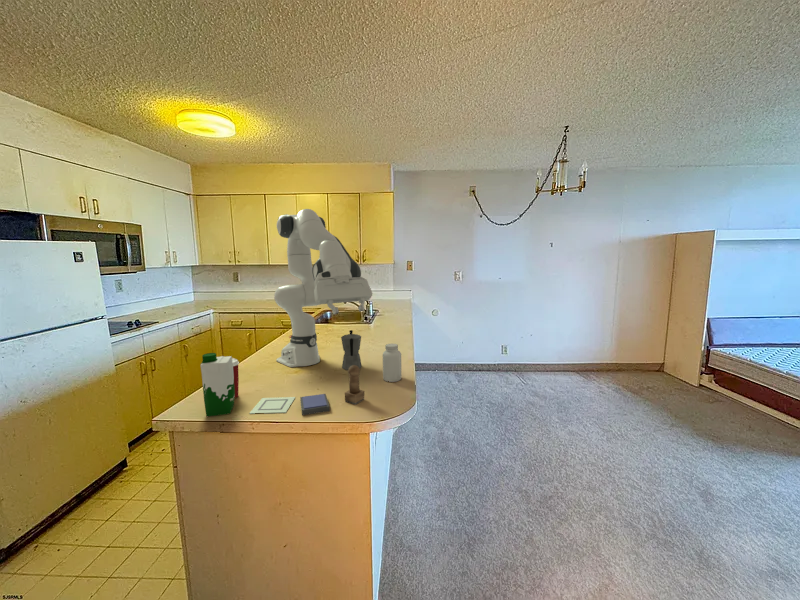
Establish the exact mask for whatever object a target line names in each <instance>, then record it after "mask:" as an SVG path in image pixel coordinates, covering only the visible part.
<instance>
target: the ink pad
mask: <svg viewBox="0 0 800 600" xmlns="http://www.w3.org/2000/svg"><path fill="white" fill-rule="evenodd" d="M299 398H300V399H299V400H300V411H301V416H306V415H312V414H313V415H314V414H319V413H327V412H330V411H331V410H330V409H331V408H330V403H329V400H328V397H327V393H320V394H311V395H305V396H300V397H299Z"/></svg>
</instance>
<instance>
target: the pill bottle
mask: <svg viewBox="0 0 800 600" xmlns="http://www.w3.org/2000/svg"><path fill="white" fill-rule="evenodd" d="M382 378H383V380H384V382H388V381H389V382H388V383H393V382H394V383H396V382H399V381H401V379H402V352H401V351H400V350H399V344H397V343H387V344H386V345H385V350H384V351H383V353H382Z"/></svg>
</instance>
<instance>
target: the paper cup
mask: <svg viewBox="0 0 800 600" xmlns="http://www.w3.org/2000/svg"><path fill="white" fill-rule="evenodd" d="M232 363H233V373H234V387H235V399H237V398H238V397H239V380H240V379H239V378H240V377H239V364H240V361H239V360H238V359H237V358H234V357H232ZM236 397H237V398H236Z"/></svg>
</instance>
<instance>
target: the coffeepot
mask: <svg viewBox="0 0 800 600" xmlns="http://www.w3.org/2000/svg"><path fill="white" fill-rule="evenodd" d="M348 332H349V334H347V333H346V334H343V335H342V336H341V337H340V340H341V345H342V350H343V358H342V365H341V368H342V369H343V370H344V369H345V371H348V369H349V367H350V366H352V365H356V366H358V367H359V369H361V367H362V360H361V355H360V351H359V350H360V348H361V341H362V335H360V334H356V333H354V330H352V329H351V330H349V331H348Z"/></svg>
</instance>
